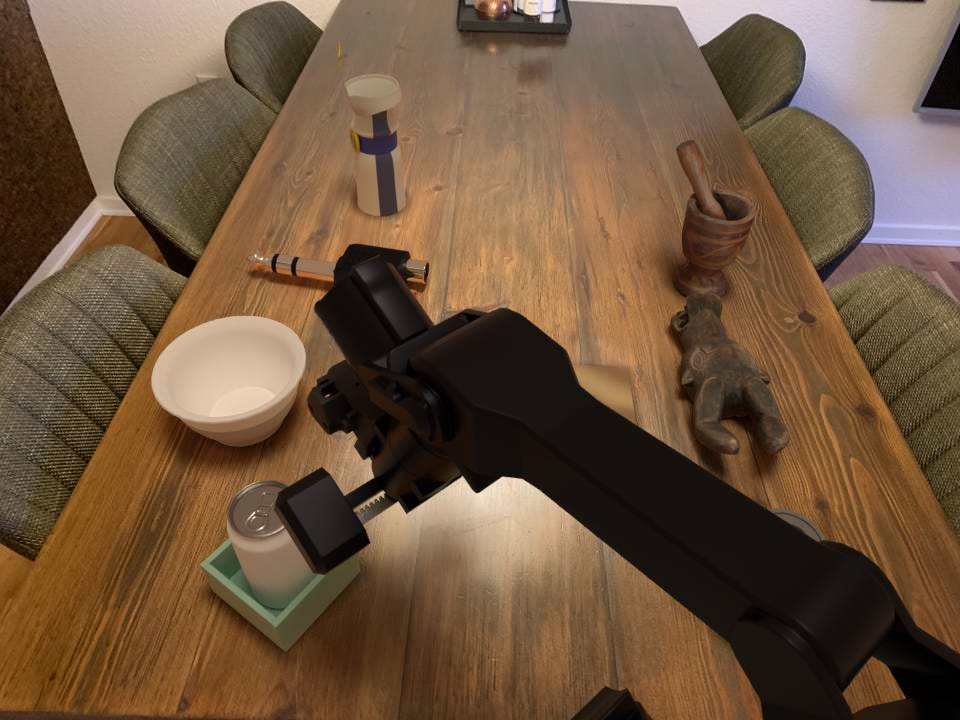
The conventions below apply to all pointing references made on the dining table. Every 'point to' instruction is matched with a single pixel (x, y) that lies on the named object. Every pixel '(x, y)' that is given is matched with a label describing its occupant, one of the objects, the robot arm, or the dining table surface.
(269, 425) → the bowl
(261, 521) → the can
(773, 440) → the sculpture
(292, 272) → the audio adapter
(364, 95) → the water bottle
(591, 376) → the board
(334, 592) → the tote
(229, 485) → the dining table surface
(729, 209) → the mortar and pestle
